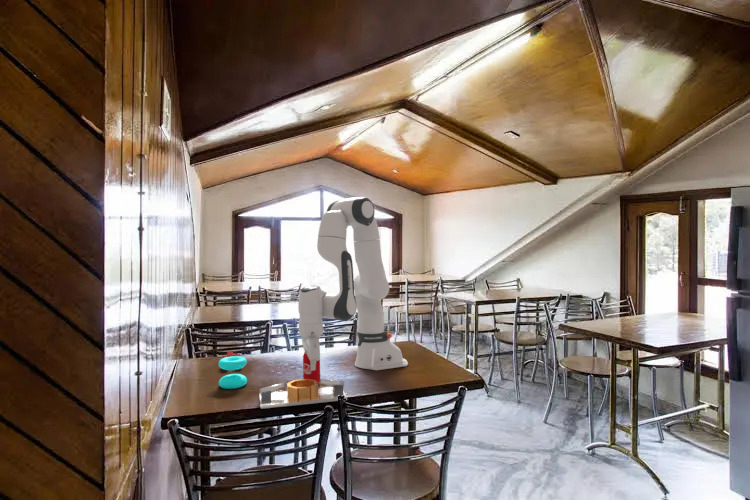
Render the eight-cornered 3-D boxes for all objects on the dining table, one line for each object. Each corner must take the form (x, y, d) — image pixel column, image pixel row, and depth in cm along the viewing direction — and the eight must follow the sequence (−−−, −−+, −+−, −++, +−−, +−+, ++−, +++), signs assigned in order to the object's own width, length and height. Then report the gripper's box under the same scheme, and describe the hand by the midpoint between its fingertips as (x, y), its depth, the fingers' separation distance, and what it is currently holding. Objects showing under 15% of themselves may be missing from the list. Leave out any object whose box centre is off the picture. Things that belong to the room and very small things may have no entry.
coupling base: (340, 388, 168) (340, 372, 168) (347, 399, 157) (347, 382, 156) (259, 396, 161) (258, 379, 161) (260, 408, 149) (259, 390, 149)
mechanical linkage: (242, 370, 195) (241, 358, 195) (223, 372, 193) (223, 359, 193) (238, 361, 210) (238, 349, 210) (221, 362, 208) (221, 351, 208)
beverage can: (303, 381, 177) (303, 349, 177) (320, 381, 178) (320, 349, 178) (302, 386, 171) (302, 353, 171) (320, 386, 172) (319, 353, 171)
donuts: (215, 362, 168) (221, 355, 178) (216, 390, 168) (221, 382, 178) (244, 361, 169) (248, 354, 179) (244, 389, 169) (248, 381, 179)
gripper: (323, 334, 165) (324, 374, 165) (315, 324, 185) (316, 360, 185) (305, 336, 163) (306, 375, 163) (299, 325, 183) (299, 361, 183)
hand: (311, 367), depth 174 cm, fingers closed on beverage can, 6 cm apart
